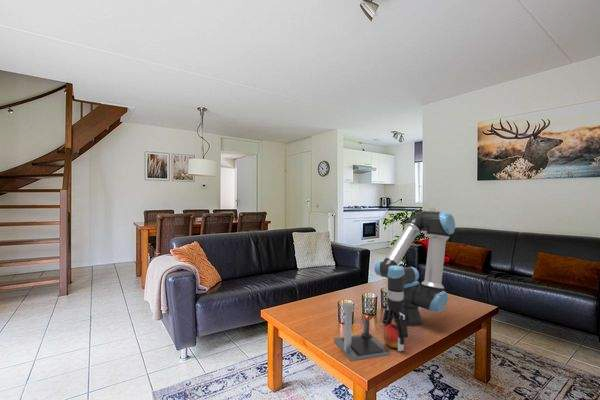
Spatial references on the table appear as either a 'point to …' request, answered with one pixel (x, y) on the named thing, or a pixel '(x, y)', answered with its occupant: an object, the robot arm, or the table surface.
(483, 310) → the table surface
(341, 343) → the stand
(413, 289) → the robot arm
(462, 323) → the table surface
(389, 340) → the apple
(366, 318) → the lever
